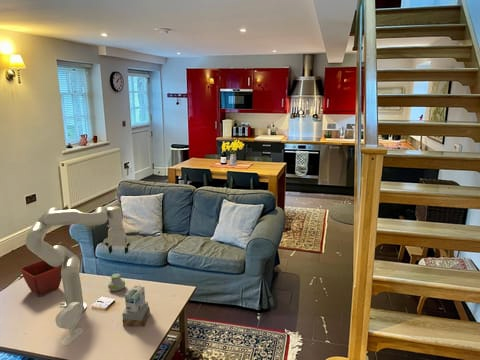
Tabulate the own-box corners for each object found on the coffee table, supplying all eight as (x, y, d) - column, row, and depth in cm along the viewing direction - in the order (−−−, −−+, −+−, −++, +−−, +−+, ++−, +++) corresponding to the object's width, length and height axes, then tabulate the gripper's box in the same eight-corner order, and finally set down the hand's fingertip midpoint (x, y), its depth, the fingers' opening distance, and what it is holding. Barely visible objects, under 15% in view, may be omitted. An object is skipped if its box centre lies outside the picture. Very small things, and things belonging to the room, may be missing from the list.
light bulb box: (136, 313, 202) (134, 296, 200) (125, 311, 204) (124, 294, 202) (145, 302, 212) (144, 286, 210) (135, 300, 214) (134, 284, 211)
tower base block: (123, 327, 204) (122, 320, 203) (130, 313, 216) (129, 306, 215) (144, 327, 204) (143, 320, 203) (149, 313, 216) (149, 306, 215)
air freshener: (106, 291, 239) (104, 277, 237) (113, 284, 247) (111, 271, 245) (121, 293, 237) (119, 279, 235) (127, 286, 245) (126, 273, 242)
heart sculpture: (65, 346, 188) (61, 316, 183) (57, 344, 189) (53, 315, 185) (86, 328, 202) (82, 300, 198) (78, 326, 204) (75, 298, 199)
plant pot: (52, 279, 254) (49, 257, 250) (66, 287, 244) (63, 265, 239) (23, 291, 239) (19, 268, 235) (37, 300, 229) (33, 277, 224)
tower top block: (122, 319, 203) (122, 313, 202) (130, 307, 215) (129, 301, 214) (141, 320, 203) (141, 314, 202) (148, 307, 214) (147, 301, 213)
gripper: (99, 228, 212) (102, 255, 217) (128, 229, 212) (130, 255, 216) (104, 224, 220) (107, 250, 224) (132, 224, 219) (134, 250, 224)
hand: (118, 252), depth 220 cm, fingers open, 9 cm apart
